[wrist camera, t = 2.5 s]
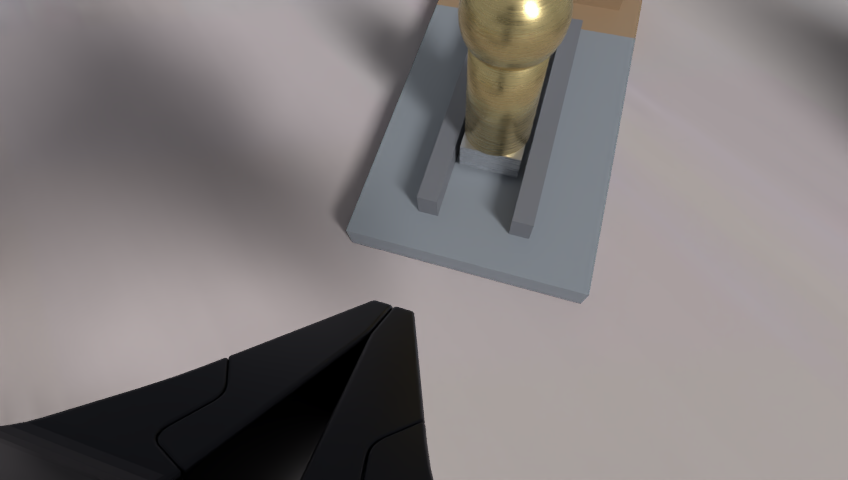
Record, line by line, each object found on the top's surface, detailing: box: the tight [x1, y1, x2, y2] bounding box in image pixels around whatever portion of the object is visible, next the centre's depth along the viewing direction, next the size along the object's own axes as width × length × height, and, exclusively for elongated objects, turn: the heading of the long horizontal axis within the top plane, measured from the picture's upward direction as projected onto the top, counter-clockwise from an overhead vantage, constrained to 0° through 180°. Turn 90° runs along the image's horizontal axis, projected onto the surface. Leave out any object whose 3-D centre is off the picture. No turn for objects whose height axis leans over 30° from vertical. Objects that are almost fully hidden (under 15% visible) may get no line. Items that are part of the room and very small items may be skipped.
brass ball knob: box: [458, 0, 573, 178], centre depth 20 cm, size 10×4×10 cm, turn 163°
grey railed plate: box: [346, 0, 642, 304], centre depth 25 cm, size 21×12×5 cm, turn 163°
